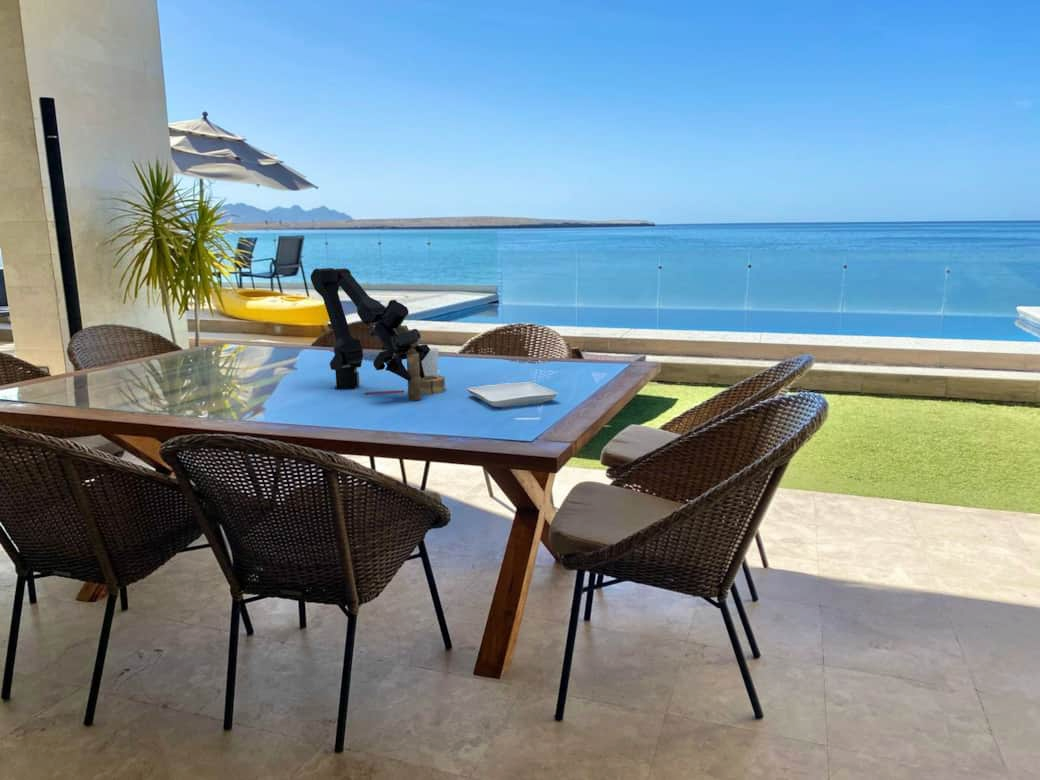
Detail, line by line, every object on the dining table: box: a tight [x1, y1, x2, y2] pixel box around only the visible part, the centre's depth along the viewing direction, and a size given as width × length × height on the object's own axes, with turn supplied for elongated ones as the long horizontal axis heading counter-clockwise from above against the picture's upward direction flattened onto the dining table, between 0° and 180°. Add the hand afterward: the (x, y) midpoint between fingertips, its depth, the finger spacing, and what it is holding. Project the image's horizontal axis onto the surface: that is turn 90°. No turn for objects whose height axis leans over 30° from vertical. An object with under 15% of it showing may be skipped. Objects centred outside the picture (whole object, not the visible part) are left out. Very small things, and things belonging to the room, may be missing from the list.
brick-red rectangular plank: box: [364, 389, 405, 395], centre depth 240 cm, size 12×1×1 cm, turn 100°
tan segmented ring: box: [420, 374, 446, 395], centre depth 242 cm, size 10×10×4 cm
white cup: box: [422, 347, 439, 375], centre depth 261 cm, size 8×8×10 cm
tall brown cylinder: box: [406, 348, 422, 402], centre depth 228 cm, size 4×4×15 cm
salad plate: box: [467, 381, 559, 408], centre depth 227 cm, size 21×21×3 cm
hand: (417, 378), depth 227 cm, fingers open, 5 cm apart
